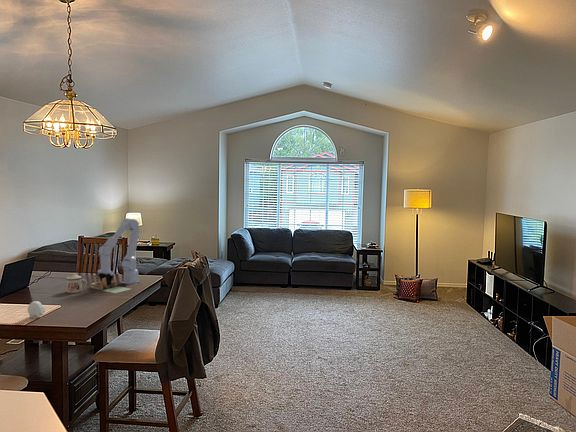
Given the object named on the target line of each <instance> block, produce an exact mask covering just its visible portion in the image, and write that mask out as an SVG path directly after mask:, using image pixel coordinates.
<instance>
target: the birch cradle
mask: <svg viewBox="0 0 576 432" xmlns="http://www.w3.org/2000/svg"><path fill="white" fill-rule="evenodd" d="M117 285H118V283H117V282H115V281H111V285H110V287H112V288H114V287H118V286H117ZM89 289H94V290H99V291H102V290H104V288H103V286H101V285H100V281H97V282H93V283H89Z"/></svg>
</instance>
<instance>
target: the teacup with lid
mask: <svg viewBox="0 0 576 432" xmlns="http://www.w3.org/2000/svg"><path fill="white" fill-rule="evenodd" d="M65 280H66V293H68V294H77V293H81V292H82V291H83V288H86V286H87V283H88V281H87V280H86V279H83V277H82V276H81V275H78V274H76V273H75V272H73V273H71V275H69V276H66V278H65ZM83 282H84V283H85V284H84V285H83V284H82V283H83Z"/></svg>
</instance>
